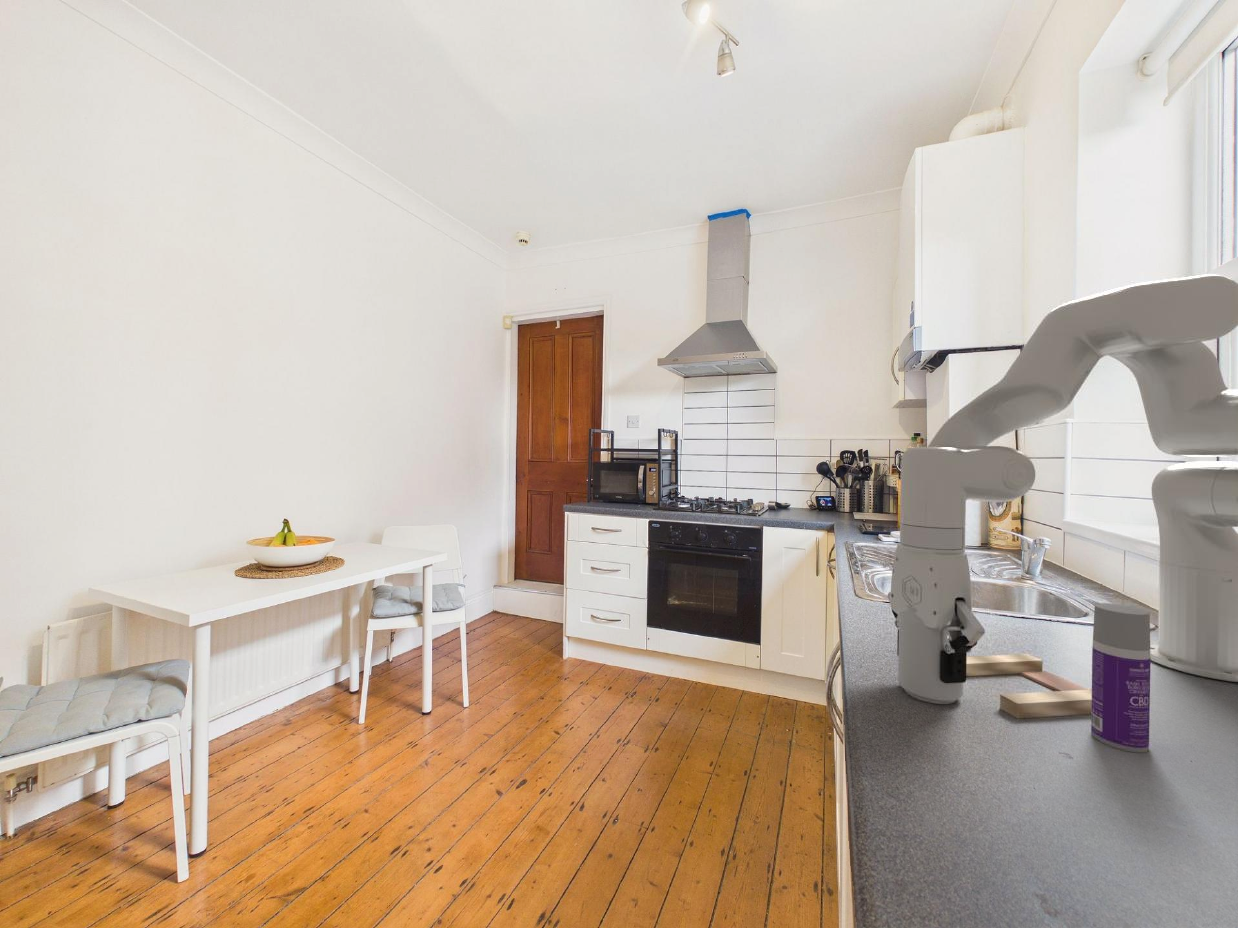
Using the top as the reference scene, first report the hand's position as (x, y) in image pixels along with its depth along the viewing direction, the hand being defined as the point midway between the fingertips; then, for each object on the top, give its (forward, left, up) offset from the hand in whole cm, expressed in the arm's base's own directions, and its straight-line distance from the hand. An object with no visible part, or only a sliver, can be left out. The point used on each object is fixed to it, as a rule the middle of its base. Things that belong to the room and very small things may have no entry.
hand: (929, 667), depth 69 cm
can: (0, 0, -4) cm, 4 cm away
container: (-13, +13, -4) cm, 19 cm away
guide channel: (-14, 0, -3) cm, 15 cm away
